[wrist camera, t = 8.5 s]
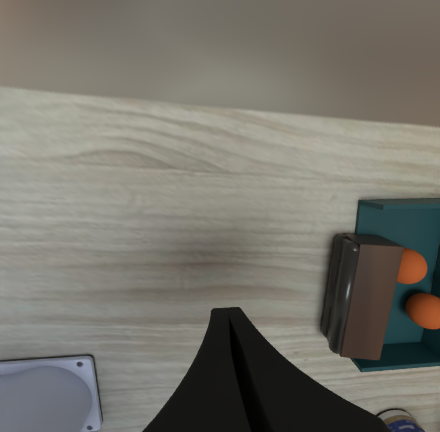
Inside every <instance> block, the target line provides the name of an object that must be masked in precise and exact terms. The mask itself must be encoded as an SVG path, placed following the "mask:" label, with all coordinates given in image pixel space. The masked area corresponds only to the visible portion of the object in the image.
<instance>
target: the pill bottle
mask: <svg viewBox="0 0 440 432" xmlns="http://www.w3.org/2000/svg"><path fill="white" fill-rule="evenodd" d="M378 417H379V418H381V419H382V420H383V421H384V423H385V424H386V425H387V426H388V428H389V429H390V430H391V431H392V432H425V431H424V430H423V429H422V428H421V427H420V425H419V424H418V423H417V422H416V421H415V420H414V418H413V417H412V416H411V415H409V414H408V413H406V412H404V411H401V410H390V411H387V412H384V413H382V414H381V415H379V416H378Z"/></svg>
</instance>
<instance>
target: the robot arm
mask: <svg viewBox="0 0 440 432" xmlns="http://www.w3.org/2000/svg"><path fill="white" fill-rule="evenodd" d="M80 362H82V363H80ZM101 426H102V418H101V411H100V404H99V397H98V390H97V383H96V376H95V369H94V362H93V358H92V357H90V356H79V357H64V358H50V359H36V360H21V361H7V362H0V432H92V431H98V430H100V428H101ZM142 432H392V431H391V430H390V429H389V428H388V426H387V425H386V424H385V423H384V421H383V420H382V419H381V418H379V417H377V416H376V415H374V414H372V413H370V412H368V411H366V410H364V409H362V408H360V407H358V406H356V405H354V404H352V403H351V402H349V401H347V400H345V399H343V398H342V397H340V396H338V395H337V394H335V393H333V392H332V391H330V390H328V389H327V388H325V387H324V386H322V385H321V384H319V383H318V382H316V381H315V380H313V379H312V378H310V377H309V376H308V375H306V374H305V373H303V372H302V371H301V370H299V369H298V368H297V367H295V366H294V365H293V364H292V363H291V362H289V361H288V360H287V359H286V358H285V357H283V356H282V355H281V354H280V353H279V352H278V351H277V350H276V349H275V348H274V347H273V346H272V345H271V344H270V343H269V342H268V341H267V340H266V339H265V338H264V337H263V336H262V334H261V333H260V332H259V331H258V330H257V329H256V328H255V326H254V325H253V324H252V323H251V321H250V320H249V319H248V318H247V316H246V315H245V314H244V312H243V311H242V309H241V308H240V307H230V308H213V309H212V310H211V317H210V322H209V325H208V328H207V331H206V334H205V337H204V340H203V342H202V344H201V346H200V349H199V351H198V353H197V355H196V357H195V359H194V361H193V363H192V365H191V367H190V368H189V370H188V372H187V374H186V375H185V377H184V378H183V380H182V381H181V383H180V385H179V386H178V388H177V389H176V391H175V392H174V393H173V395H172V396H171V397H170V399H169V400H168V401H167V403H166V404H165V405H164V406H163V408H162V409H161V410H160V412H159V413H158V414H157V415H156V417H155V418H154V419H153V420H152V421H151V422H150V424H149V425H148V426H147V427H146V428H145V429H144V430H143V431H142Z"/></svg>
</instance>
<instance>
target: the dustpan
mask: <svg viewBox="0 0 440 432" xmlns="http://www.w3.org/2000/svg"><path fill="white" fill-rule="evenodd" d="M355 234H363V235H380V236H382V237H384V238H387V239H389V240H391V241H393V242H395V243H397V244H399V245H401V246H403V247H404V248H409V249H412V250H415V251H416V252H418V253H419V254H421V255H422V256H423V258H424V259H425V261H426V263H427V273H426V275H425V277H424V278H423V279H422V280H420V281H419V282H416V283H413V284H403V283H399V282H396V287H395V292H394V296H393V301H392V306H391V310H390V315H389V319H388V324H387V329H386V333H385V338H384V343H383V347H382V352H381V356H380V360H370V359H359V358H350V359H351V360H352V361H353V362H354V364H355V365H356V366H357V368H358V369H359V370H360V371H361V372H371V371H383V370H395V369H407V368H419V367H431V366H440V328H439V329H427V328H424V329H423V327H421V326H419V325H417V324H416V323H414V322H413V321H412V320H411V319H410V318H409V316H408V314H407V312H406V309H405V305H406V301H407V300H408V298H409V297H410V296H412V295H414V294H417V293H428V294H432V295H434V296H436V297H438V298H440V245H439V242H440V198H420V199H376V200H359V203H358V212H357V221H356V230H355ZM438 247H439V250H438ZM437 252H438V255H437ZM436 258H437V261H436ZM435 263H436V266H435ZM434 268H435V271H434ZM433 274H434V276H433ZM432 279H433V282H432ZM431 284H432V287H431ZM430 289H431V292H430ZM422 332H423V335H422ZM421 337H422V340H421Z"/></svg>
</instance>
